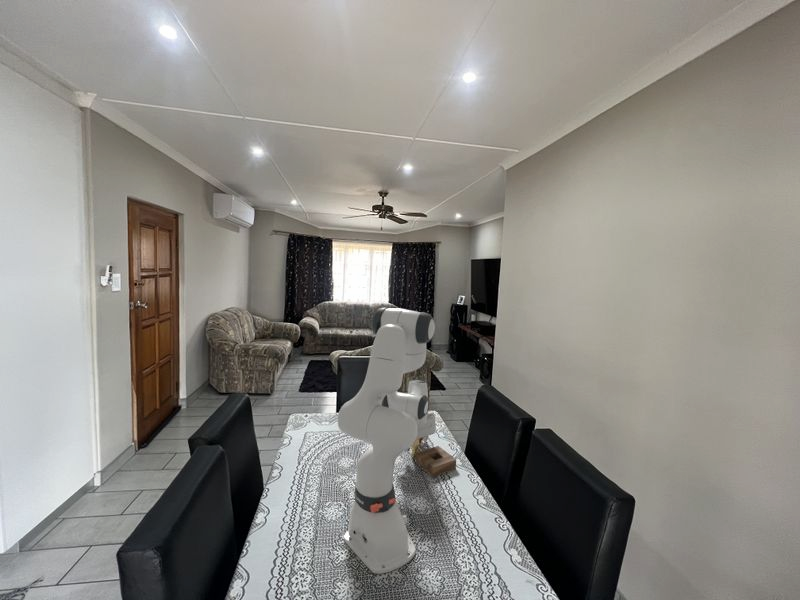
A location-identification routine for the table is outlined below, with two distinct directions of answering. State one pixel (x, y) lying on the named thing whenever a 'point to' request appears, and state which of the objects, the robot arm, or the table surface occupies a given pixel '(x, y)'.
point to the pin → (415, 448)
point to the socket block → (435, 461)
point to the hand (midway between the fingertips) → (415, 448)
